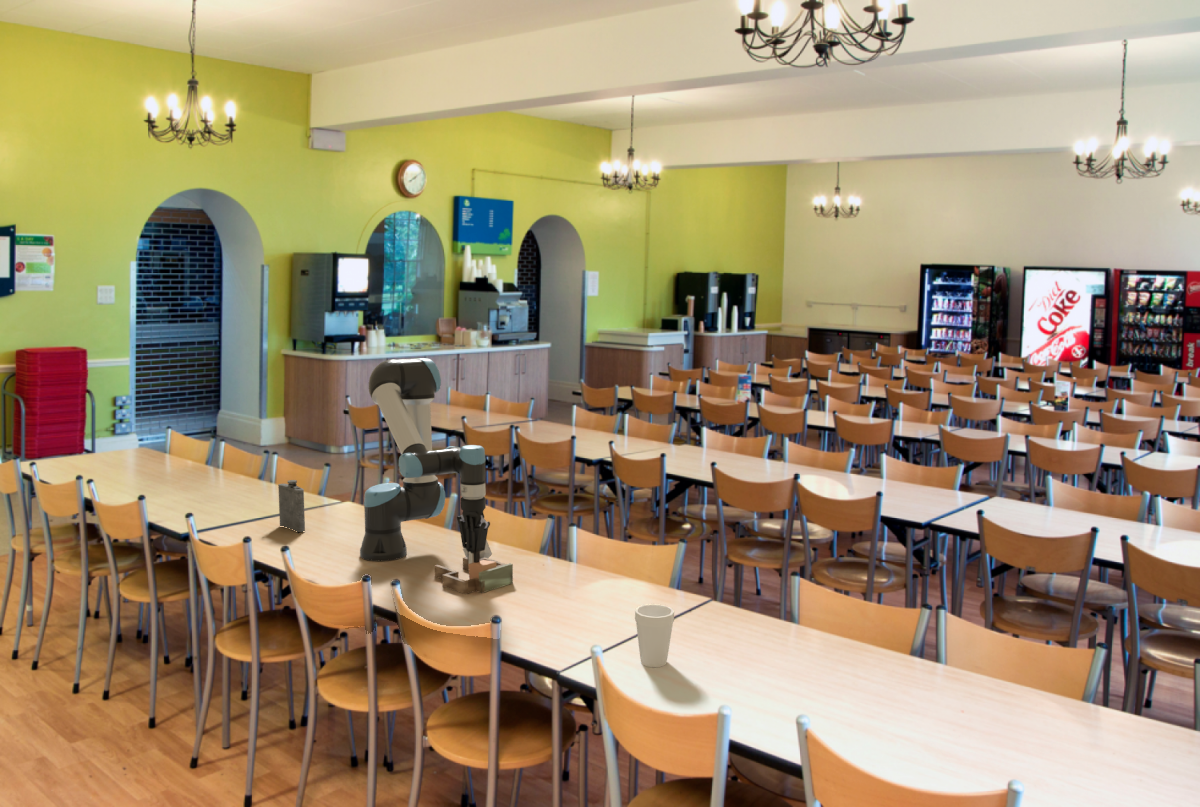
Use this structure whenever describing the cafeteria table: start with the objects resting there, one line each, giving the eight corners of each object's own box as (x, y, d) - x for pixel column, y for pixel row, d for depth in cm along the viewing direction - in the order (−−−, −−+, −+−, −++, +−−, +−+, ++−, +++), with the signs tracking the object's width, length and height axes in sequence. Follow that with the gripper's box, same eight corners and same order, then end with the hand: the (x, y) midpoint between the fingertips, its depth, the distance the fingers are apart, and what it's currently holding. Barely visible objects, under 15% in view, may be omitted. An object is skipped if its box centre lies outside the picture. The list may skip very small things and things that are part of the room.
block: (469, 583, 287) (468, 564, 287) (484, 579, 291) (483, 559, 291) (482, 585, 283) (481, 566, 283) (497, 581, 287) (496, 561, 287)
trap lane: (424, 579, 290) (424, 560, 289) (475, 564, 305) (475, 546, 304) (471, 596, 276) (471, 576, 275) (522, 580, 291) (522, 561, 290)
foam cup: (632, 654, 235) (633, 604, 233) (669, 653, 236) (670, 603, 234) (637, 670, 226) (638, 618, 224) (675, 669, 226) (676, 617, 225)
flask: (287, 524, 351) (285, 476, 348) (308, 531, 341) (307, 482, 339) (278, 526, 348) (276, 478, 346) (299, 533, 339) (297, 484, 336)
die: (496, 563, 309) (487, 536, 313) (491, 557, 301) (482, 530, 305) (472, 572, 309) (464, 545, 312) (467, 567, 301) (458, 539, 304)
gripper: (449, 495, 288) (450, 570, 291) (477, 502, 280) (478, 579, 283) (468, 491, 294) (469, 564, 297) (496, 498, 285) (497, 573, 288)
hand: (473, 571), depth 290 cm, fingers closed
